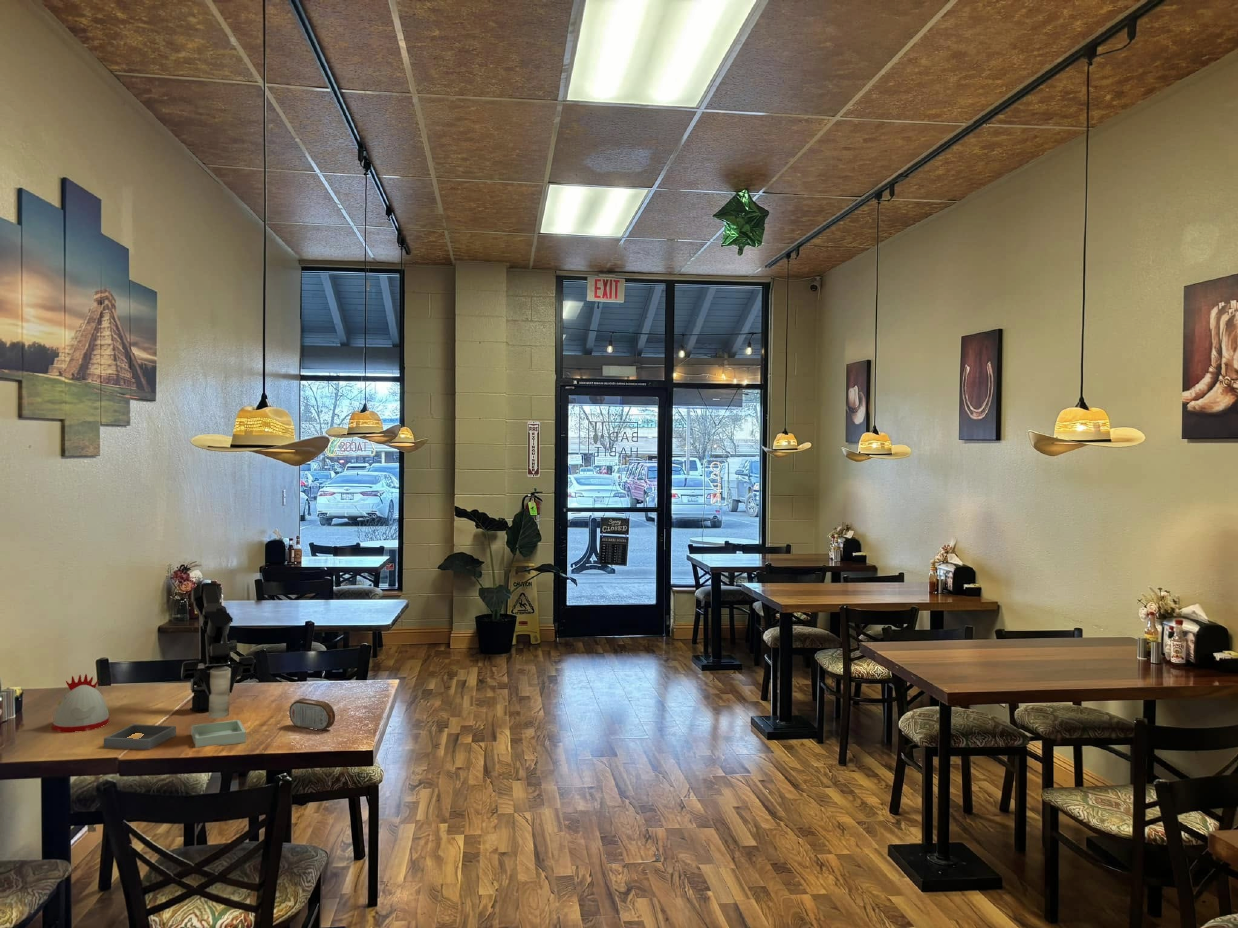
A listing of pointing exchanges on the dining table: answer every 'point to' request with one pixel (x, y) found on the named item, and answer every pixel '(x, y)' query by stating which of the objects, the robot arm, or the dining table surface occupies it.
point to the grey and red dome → (81, 708)
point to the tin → (312, 714)
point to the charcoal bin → (146, 742)
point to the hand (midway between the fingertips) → (220, 693)
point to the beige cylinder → (219, 692)
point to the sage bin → (218, 733)
